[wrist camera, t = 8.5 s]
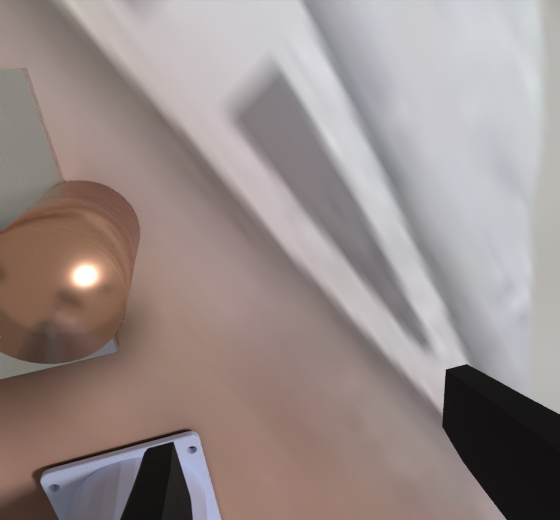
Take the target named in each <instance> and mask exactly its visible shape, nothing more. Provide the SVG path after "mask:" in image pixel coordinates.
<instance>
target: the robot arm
mask: <svg viewBox="0 0 560 520" xmlns="http://www.w3.org/2000/svg"><path fill="white" fill-rule="evenodd" d="M442 427H443V428H444V430H445V432H446V434H447V435H448V437H449V439H450V441H451V442H452V444H453V446H454V448H455V449H456V451H457V452H458V454H459V456H460V457H461V459H462V461H463V462H464V464H465V465H466V466H467V468H468V469H469V470H470V472H471V473H472V475H473V476H474V477H475V479H476V480H477V481H478V482H479V484H480V485H481V486H482V488H483V489H484V490H485V492H486V493H487V494H488V496H489V497H490V498H491V500H492V501H493V502H494V504H495V505H496V506H497V508H498V509H499V510H500V511H501V513H502V514H503V515H504V517H505V518H506V519H507V520H560V414H558V413H556V412H554V411H552V410H550V409H548V408H546V407H544V406H543V405H541V404H539V403H537V402H535V401H533V400H531V399H530V398H528V397H526V396H524V395H522V394H520V393H519V392H517V391H515V390H513V389H511V388H510V387H508V386H506V385H504V384H502V383H500V382H499V381H497V380H495V379H493V378H491V377H490V376H488V375H486V374H484V373H482V372H480V371H479V370H477V369H475V368H473V367H471V366H469V365H467V364H466V365H462V366H458V367H454V368H450V369H447V370H446V376H445V392H444V408H443V424H442ZM191 446H194V447H193V448H189V447H191ZM40 483H41V485H42V487H43V489H44V491H45V493H46V495H47V497H48V499H49V501H50V503H51V505H52V507H53V509H54V511H55V513H56V515H57V517H58V519H59V520H221V516H220V512H219V509H218V505H217V501H216V498H215V494H214V490H213V486H212V483H211V479H210V475H209V471H208V468H207V464H206V460H205V456H204V453H203V449H202V445H201V442H200V438H199V435H198V433H196V432H194V431H187V432H184V433H180V434H176V435H173V436H169V437H165V438H161V439H158V440H154V441H150V442H147V443H143V444H139V445H135V446H132V447H128V448H124V449H121V450H117V451H113V452H109V453H106V454H102V455H98V456H94V457H91V458H87V459H83V460H80V461H76V462H72V463H68V464H65V465H61V466H57V467H54V468H50V469H47V470H45V471H44V472H43V473H42V476H41V479H40ZM52 484H56V485H52Z"/></svg>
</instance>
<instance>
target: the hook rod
mask: <svg viewBox="0 0 560 520" xmlns="http://www.w3.org/2000/svg"><path fill="white" fill-rule="evenodd" d="M139 239H140V226H139V221H138V218H137V215H136V213H135V211H134V209H133V208H132V206H131V205H130V204H129V202H128V201H127V200H126V199H125V198H124V197H123V196H122V195H120V194H119V193H118V192H116V191H115V190H113V189H111V188H109V187H108V186H105V185H103V184H100V183H96V182H91V181H70V182H66V183H63V184H60V185H57V186H55V187H54V188H52V189H50V190H49V191H47V192H46V193H45V194H44V195H43V196H41V197H40V198H39V199H38V200H37V201H36V202H35V203H34V204H32V205H31V206H30V207H29V208H28V209H27V210H26V211H24V212H23V213H22V214H21V215H20V216H19V217H18V218H17V219H15V220H14V221H13V222H12V223H11V224H10V225H9V226H7V227H6V228H5V229H4V230H3V231H2V232H1V233H0V352H1V353H4V354H6V355H8V356H10V357H13V358H16V359H19V360H22V361H27V362H31V363H39V364H59V363H66V362H72V361H75V360H79V359H82V358H84V357H86V356H89V355H91V354H93V353H94V352H96V351H98V350H99V349H101V348H102V347H103V346H105V345H106V344H107V343H108V342H109V341H110V340H111V339H112V338H113V337H114V335H115V334H116V333H117V331H118V329H119V328H120V326H121V324H122V321H123V319H124V315H125V311H126V306H127V301H128V296H129V290H130V285H131V280H132V275H133V270H134V265H135V260H136V255H137V250H138V245H139Z"/></svg>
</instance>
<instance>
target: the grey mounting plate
mask: <svg viewBox="0 0 560 520" xmlns="http://www.w3.org/2000/svg"><path fill="white" fill-rule="evenodd" d="M63 183H65V182H64V179H63V176H62V173H61V170H60V167H59V164H58V161H57V158H56V155H55V152H54V149H53V146H52V143H51V140H50V137H49V134H48V131H47V128H46V125H45V122H44V119H43V116H42V113H41V110H40V107H39V104H38V101H37V98H36V95H35V92H34V89H33V86H32V83H31V80H30V77H29V74H28V71H27V69H26V68H17V69H9V70H1V71H0V233H1V232H2V231H3V230H4V229H5V228H6V227H7V226H9V225H10V224H11V223H12V222H13V221H14V220H15V219H17V218H18V217H19V216H20V215H21V214H22V213H23V212H24V211H26V210H27V209H28V208H29V207H30V206H31V205H32V204H34V203H35V202H36V201H37V200H38V199H39V198H40V197H41V196H43V195H44V194H45V193H46V192H47V191H49V190H50V189H52V188H54V187H55V186H57V185H60V184H63ZM118 347H119V344H118V341H117V338H116V335H114V337H113V338H112V339H111V340H110V341H109V342H108V343H107V344H106V345H105V346H103V347H102V348H101V349H99V350H98V351H96V352H94V353H93V354H91V355H89V356H86V357H84V358H82V359H79V360H75V361H72V362H66V363H59V364H39V363H31V362H27V361H22V360H19V359H16V358H13V357H10V356H8V355H6V354H4V353H1V352H0V379H4V378H8V377H13V376H17V375H21V374H26V373H30V372H34V371H39V370H43V369H47V368H52V367H56V366H60V365H65V364H69V363H73V362H78V361H82V360H86V359H90V358H95V357H99V356H103V355H108V354H112V353H116V352H118Z"/></svg>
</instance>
